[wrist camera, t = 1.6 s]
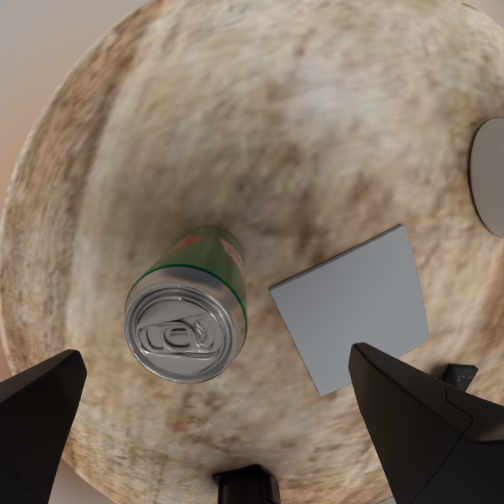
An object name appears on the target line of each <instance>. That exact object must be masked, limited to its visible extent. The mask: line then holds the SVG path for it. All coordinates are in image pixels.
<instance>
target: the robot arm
mask: <svg viewBox="0 0 504 504" xmlns="http://www.w3.org/2000/svg"><path fill="white" fill-rule="evenodd" d="M348 370H349V374H350V377H351V381H352V384H353V388H354V392H355V395H356V399H357V403H358V406H359V409H360V412H361V414H362V417H363V419H364V422H365V424H366V427H367V429H368V432H369V434H370V437H371V439H372V442H373V444H374V447H375V449H376V452H377V454H378V457H379V459H380V462H381V465H382V467H383V470H384V472H385V475H386V478H387V480H388V483H389V486H390V488H391V491H392V494H393V496H394V499H395V502H396V504H504V406H502V405H499V404H496V403H493V402H490V401H487V400H484V399H482V398H479V397H476V396H474V395H471V394H469V393H466V392H464V391H462V390H460V389H457V388H455V387H453V386H451V385H449V384H447V383H446V384H445V382H443V381H441V380H439V379H437V378H435V377H433V376H431V375H429V374H427V373H425V372H423V371H421V370H419V369H416V368H414V367H412V366H411V365H409V364H407V363H405V362H403V361H401V360H399V359H397V358H395V357H393V356H391V355H389V354H387V353H385V352H383V351H381V350H379V349H377V348H375V347H373V346H371V345H369V344H367V343H365V342H360V343H354V344H353V345H352V346H351V351H350V357H349V363H348ZM86 376H87V370H86V367H85V364H84V362H83V359H82V356H81V354H80V352H79V351H78V350H72V349H68V350H65V351H63V352H61V353H59V354H57V355H55V356H53V357H51V358H49V359H47V360H45V361H43V362H41V363H39V364H37V365H35V366H33V367H31V368H29V369H27V370H25V371H23V372H21V373H19V374H17V375H15V376H13V377H11V378H9V379H7V380H4V381H3V382H0V504H48V502H49V498H50V494H51V490H52V486H53V483H54V479H55V476H56V472H57V469H58V465H59V462H60V459H61V456H62V453H63V450H64V447H65V443H66V441H67V438H68V435H69V432H70V429H71V426H72V423H73V421H74V418H75V415H76V412H77V409H78V406H79V402H80V398H81V394H82V391H83V387H84V383H85V380H86ZM212 480H213V481H214V482H216V483H217V484H218V503H217V504H281V501H280V493H279V484H278V482H277V481H276V480H275V478H274V477H273V476H272V475H271V474H268V473H267V472H266V471H265V470H264V469H263V468H262V466H260V465H255V466H251V467H247V468H243V469H239V470H234V471H230V472H225V473H221V474H216V475H212Z"/></svg>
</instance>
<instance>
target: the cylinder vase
mask: <svg viewBox="0 0 504 504" xmlns="http://www.w3.org/2000/svg"><path fill="white" fill-rule="evenodd" d="M470 177H471V186H472V192H473V197H474V201H475V204H476V207H477V210H478V213H479V215H480V217H481V219H482V221H483V222H484V224H485V225H486V227H487V228H488V229H489V230H490V231H491V232H492V233H493V234H495V235H496V236H498V237H501V238H504V117H502V118H496V119H491V120H489V121H487V122H486V123H485V124H484V125H483V126H482V127H481V128H480V129H479V131H478V133H477V135H476V137H475V140H474V143H473V147H472V152H471V161H470Z"/></svg>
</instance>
